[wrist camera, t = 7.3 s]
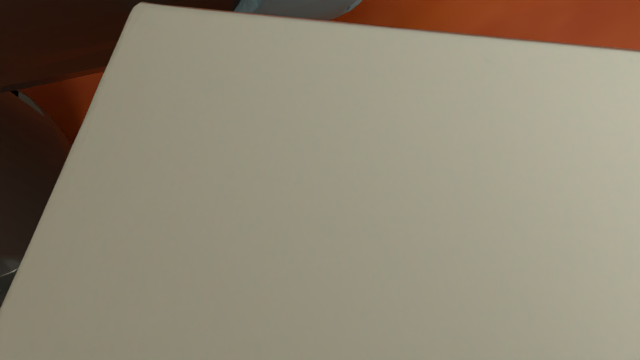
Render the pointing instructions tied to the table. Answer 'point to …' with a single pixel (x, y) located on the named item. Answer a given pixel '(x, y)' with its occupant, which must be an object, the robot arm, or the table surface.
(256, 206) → the small box
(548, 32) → the table surface
